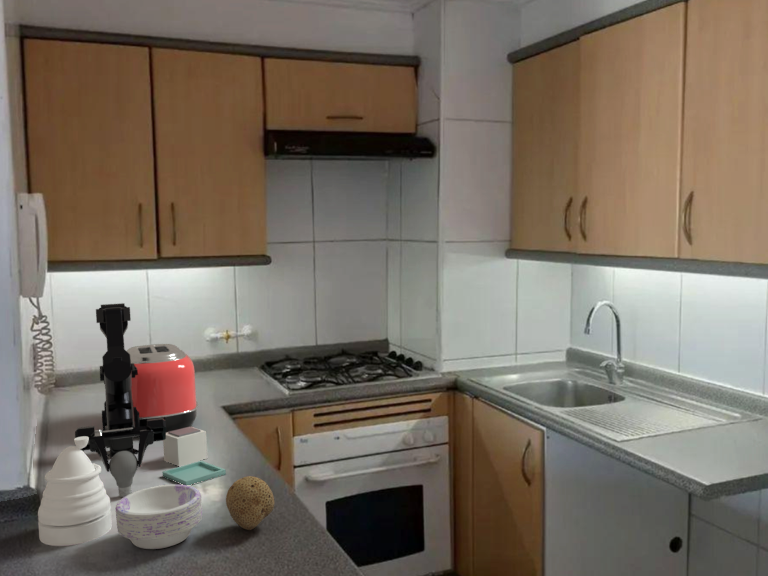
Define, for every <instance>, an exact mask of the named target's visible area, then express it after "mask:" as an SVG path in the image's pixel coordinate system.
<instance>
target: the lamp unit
mask: <svg viewBox="0 0 768 576" xmlns="http://www.w3.org/2000/svg"><path fill="white" fill-rule="evenodd" d="M207 439H208V438H207V431H206V430H203V429H200V428H197V427H194V426H191V427H186V428H182V429H178V430H174V431H170V432H167V433H166V439H165V440H162V445H163V447H162V448H163V459H164V460H163V461H164V462H165V461H166V462H165V463H168V462H169V463H168V464H170V463H172V464H171V465H173V464H175V465H177V466H176V467H178V466H181V465H186V464H189V463H193V462H197V461H200V460H201V461H204V460H203V459H205V460H208V459H207V458H208V443H207V442H208V441H207ZM175 465H174V466H175Z"/></svg>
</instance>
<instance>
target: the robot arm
mask: <svg viewBox="0 0 768 576" xmlns="http://www.w3.org/2000/svg"><path fill="white" fill-rule="evenodd" d="M95 317H96V324H99V330H100V331H101V332H102V334H103V335H104V336H105V338H106V350H107V351H106V352H105V353H104V354H103V355H102V365H99V379H100V382H102V381H103V384H104V389H105V401H104V403H103V407H104V410H103V409H102V410H101V420H102V421H101V422H102V429H95V425H91V426H82V427H77V428H76V429H75V430H74V439H75V438H77V437H82V436H87V437H89V440H88V444H87V445H86V447H84V448H82V449H81V450H82V451H83V452H84V451H90V452H91V453H96V454H98V456H99V458H100V459H101V461H102V464H103V465H104V468H105V471H106V473H108V472H109V473H110V470H109V462H110V461H109V457H110V458H112V457H113V456H114V455H115V454H116V453H118V452H120V451H129V452H131V453H133V454H134V455H135V454H137V460H138V468H141V466H142V463H143V459H144V456H145V453H146V450H147V448H148V446H149V445H153V444H154V442H160V441H162V442H163V440H165V439H166V422H165V420H164V419H163V418H157V419H149V420H147V426H142V427H140V418H139V412H138V411H137V409H136V407H133V400H132V378H135V375H138V370H137V367H135V365H134V363H131V359H130V354H129V353H128V352H127V350H126V349H125V337H124V335H125V334H126V332H127V330H128V327H129V322H131V307H130V306H126V305H125V303H123V302H121V303H106V304H100V307H99V308H96V309H95ZM128 321H129V322H128ZM134 423H135V424H134ZM137 436H139V438H138V449H136V448H134V437H137ZM107 449H109V450H107ZM108 456H109V457H108Z"/></svg>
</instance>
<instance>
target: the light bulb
mask: <svg viewBox="0 0 768 576" xmlns="http://www.w3.org/2000/svg"><path fill="white" fill-rule="evenodd" d="M108 462H109V473H110V474H111V475H112V477H113V478H114V480H115V483H116V486H117V488H118V496H119V497H122V498H123V497H125V496H127V495H129V494H131V493H133V492H132V485H133V479H134V476H135V475H136V472H137V470H138V468H139V467H138V457H137V456H136V455H135V454H133V453H131V452H129V451H120V452H118V453H116V454H115V455H114V456H113V457H110V460H109V461H108Z"/></svg>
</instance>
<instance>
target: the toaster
mask: <svg viewBox="0 0 768 576" xmlns="http://www.w3.org/2000/svg"><path fill="white" fill-rule="evenodd" d="M126 351H127V352H128V353H129V354H130V359H131V363H134V365H135V367H137V370H138V375H135V378H132V400H133V407H136V409H137V411H138V412H139V418H140V427H142V426H147V420H149V419H157V418H163V419H164V420H165V422H166V433H167V432H170V431H174V430H178V429H182V428H186V427H193V424H194V423H195V421H196V418H197V417H198V416H197V415H198V411H197V409H198V407H199V404H198V401H197V391H196V373H195V372H196V371H195V366H194V365H195V364H194V361H193V360H192V358H191V356H189V354H187V353H185V351H183V349H181V348H180V347H178V346H176V345H175V344H172V343H156V344H155V343H154V344H145V345H144V344H143V345H137V346H131V347H129V348H128V349H127V350H126ZM134 424H135V423H134ZM136 437H137V439H139V436H136Z"/></svg>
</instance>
